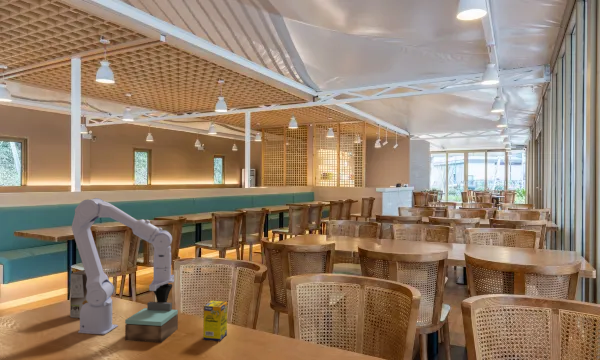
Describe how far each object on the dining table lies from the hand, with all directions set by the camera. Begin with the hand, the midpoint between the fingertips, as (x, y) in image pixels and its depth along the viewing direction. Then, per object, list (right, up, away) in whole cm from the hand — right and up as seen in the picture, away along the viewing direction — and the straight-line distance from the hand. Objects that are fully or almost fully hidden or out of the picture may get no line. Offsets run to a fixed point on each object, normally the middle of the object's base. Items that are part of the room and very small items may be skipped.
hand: (162, 306), depth 144 cm
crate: (-1, -7, -7) cm, 10 cm away
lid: (-1, -2, -7) cm, 7 cm away
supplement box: (+20, -8, -9) cm, 23 cm away
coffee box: (-33, -7, +13) cm, 36 cm away
